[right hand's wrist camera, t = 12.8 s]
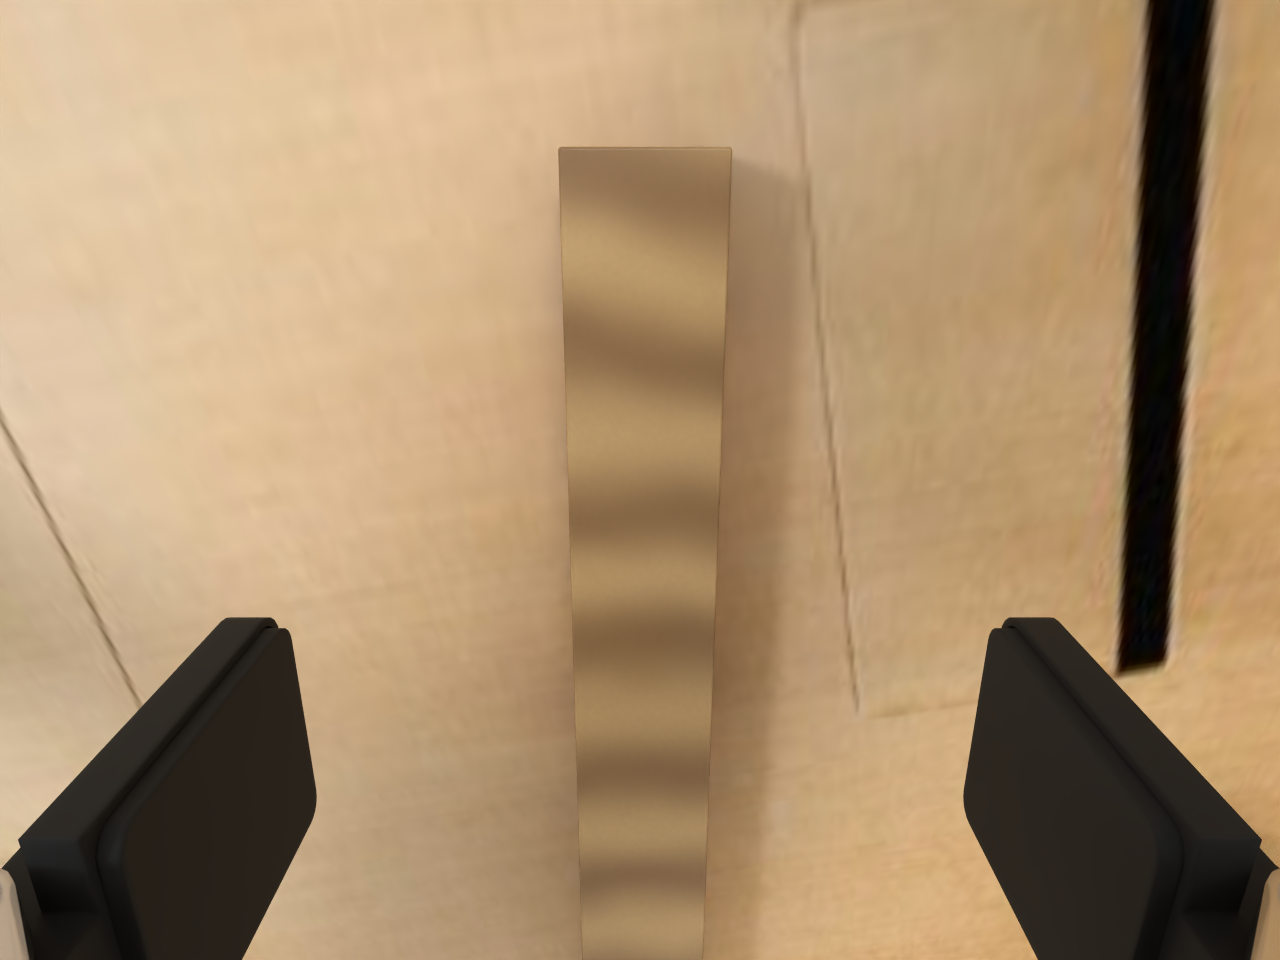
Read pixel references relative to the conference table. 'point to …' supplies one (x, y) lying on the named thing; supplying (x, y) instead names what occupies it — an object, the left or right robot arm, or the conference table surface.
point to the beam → (644, 528)
